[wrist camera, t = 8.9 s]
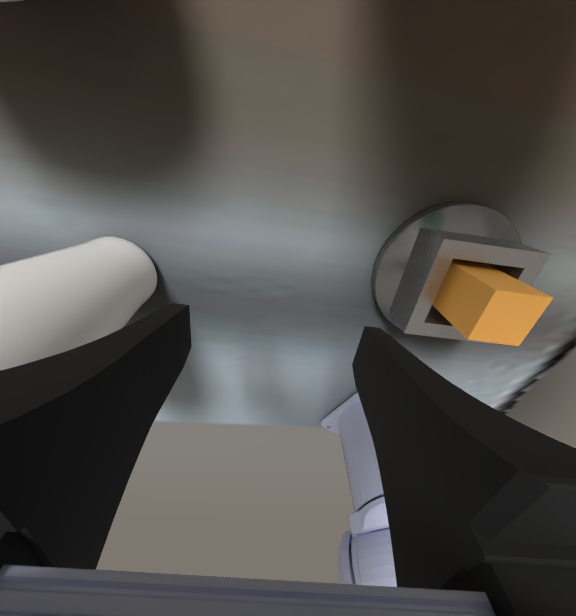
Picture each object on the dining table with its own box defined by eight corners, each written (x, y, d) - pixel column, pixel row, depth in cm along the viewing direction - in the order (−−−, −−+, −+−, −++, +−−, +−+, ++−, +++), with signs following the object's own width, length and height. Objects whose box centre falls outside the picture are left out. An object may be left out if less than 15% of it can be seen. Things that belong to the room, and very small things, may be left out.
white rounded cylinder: (188, 272, 20) (-5, 479, 7) (138, 322, 22) (-78, 550, 9) (107, 202, 18) (-424, 314, 5) (61, 266, 20) (-386, 466, 7)
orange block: (476, 258, 18) (553, 297, 13) (457, 297, 20) (518, 346, 14) (435, 253, 18) (496, 289, 13) (419, 292, 19) (467, 339, 14)
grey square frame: (537, 213, 18) (602, 226, 14) (469, 333, 23) (504, 366, 19) (396, 191, 17) (425, 199, 14) (356, 320, 22) (370, 351, 18)
